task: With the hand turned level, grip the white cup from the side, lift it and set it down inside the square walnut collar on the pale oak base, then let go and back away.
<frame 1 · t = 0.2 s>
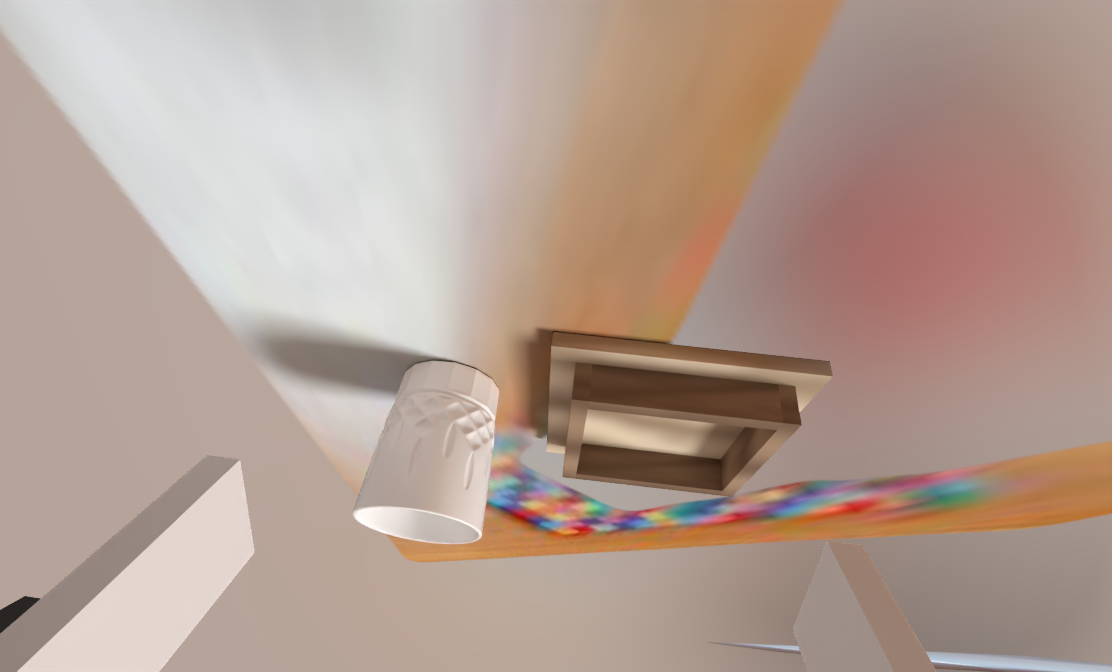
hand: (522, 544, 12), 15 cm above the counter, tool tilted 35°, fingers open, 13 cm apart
cup holder: (663, 408, 38), on the counter
white cup: (453, 381, 39), on the counter
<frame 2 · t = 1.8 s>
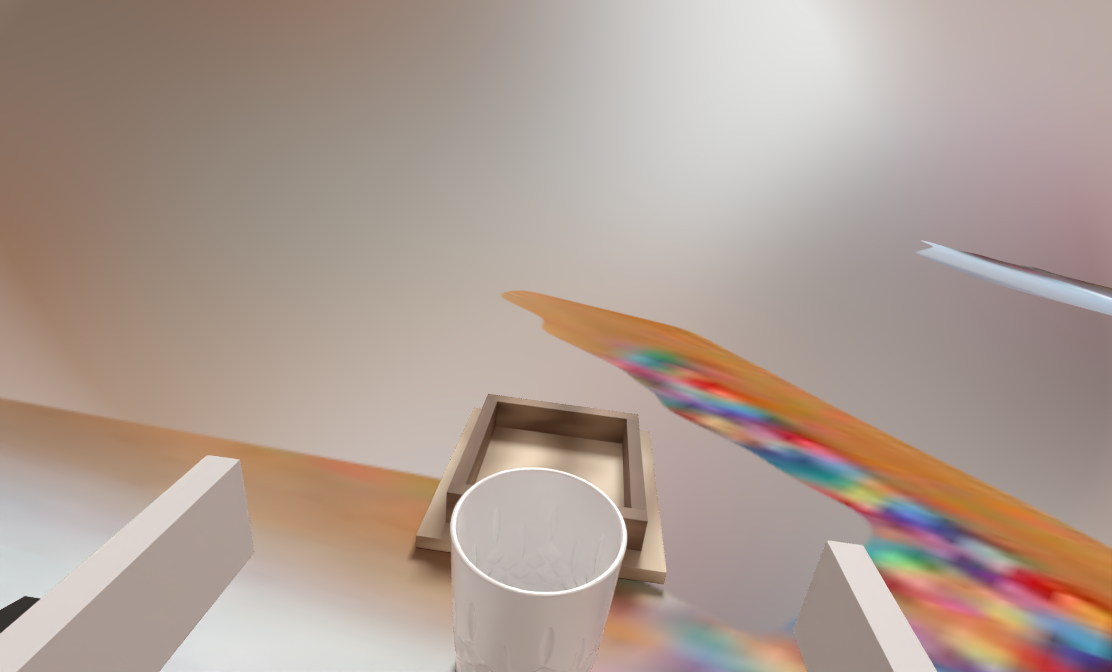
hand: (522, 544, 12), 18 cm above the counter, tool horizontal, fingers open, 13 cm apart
cup holder: (551, 485, 42), on the counter
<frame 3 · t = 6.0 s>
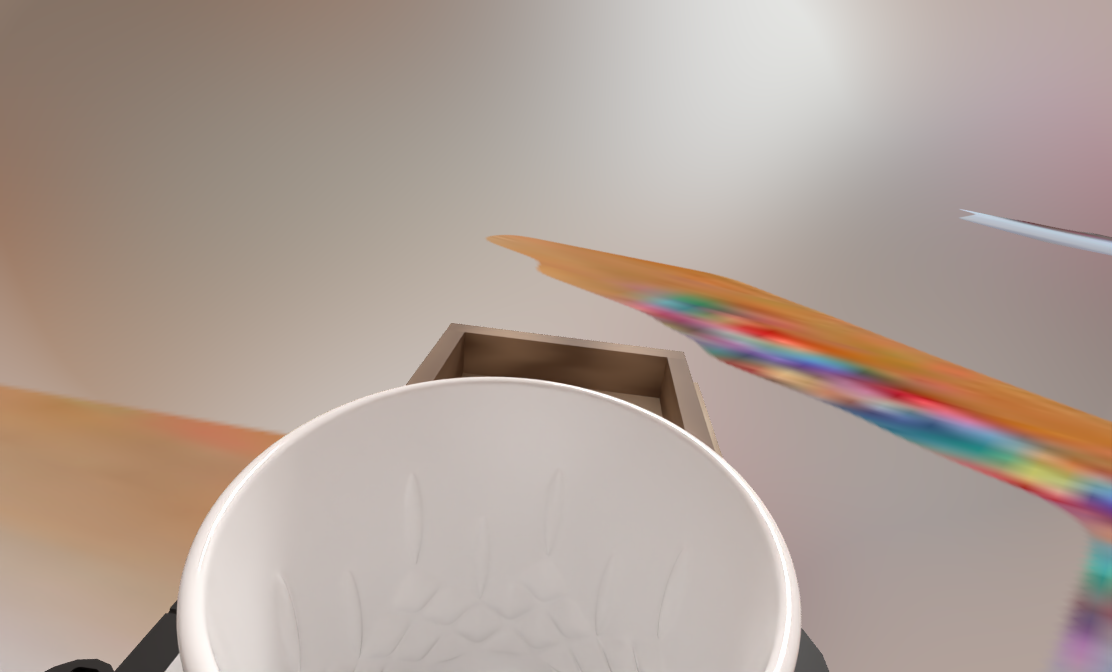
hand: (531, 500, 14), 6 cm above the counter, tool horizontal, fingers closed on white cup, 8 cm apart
cup holder: (549, 458, 25), on the counter
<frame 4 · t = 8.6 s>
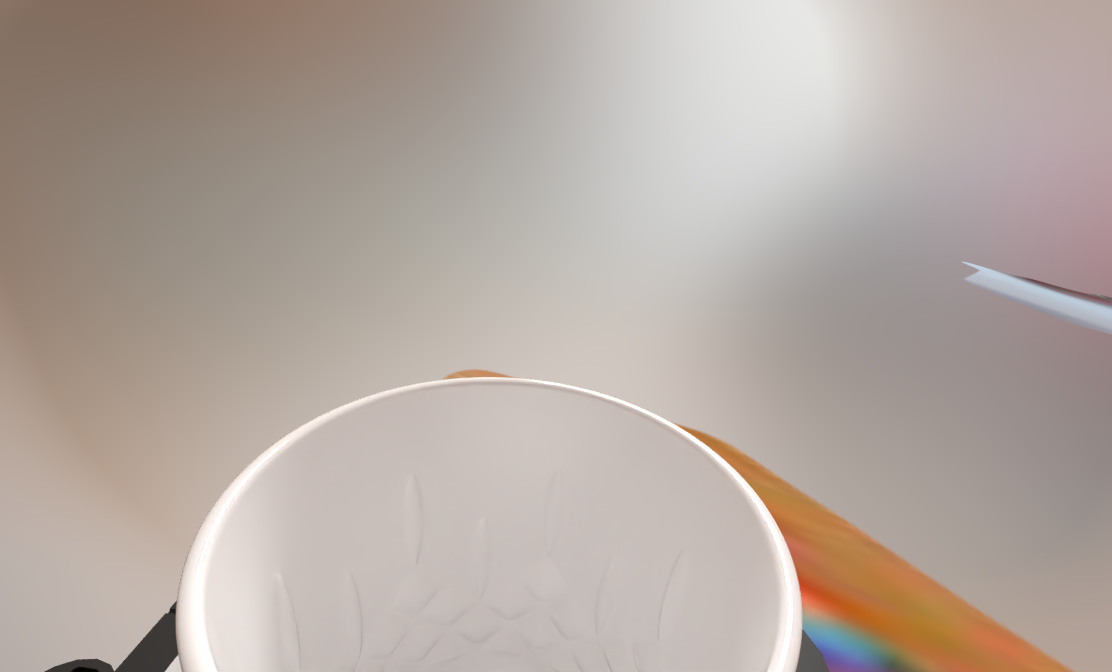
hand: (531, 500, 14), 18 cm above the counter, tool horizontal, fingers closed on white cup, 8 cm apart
when the fingers open (8 cm above the counter, at t = 11.3 s): white cup drops 1 cm, resting on cup holder.
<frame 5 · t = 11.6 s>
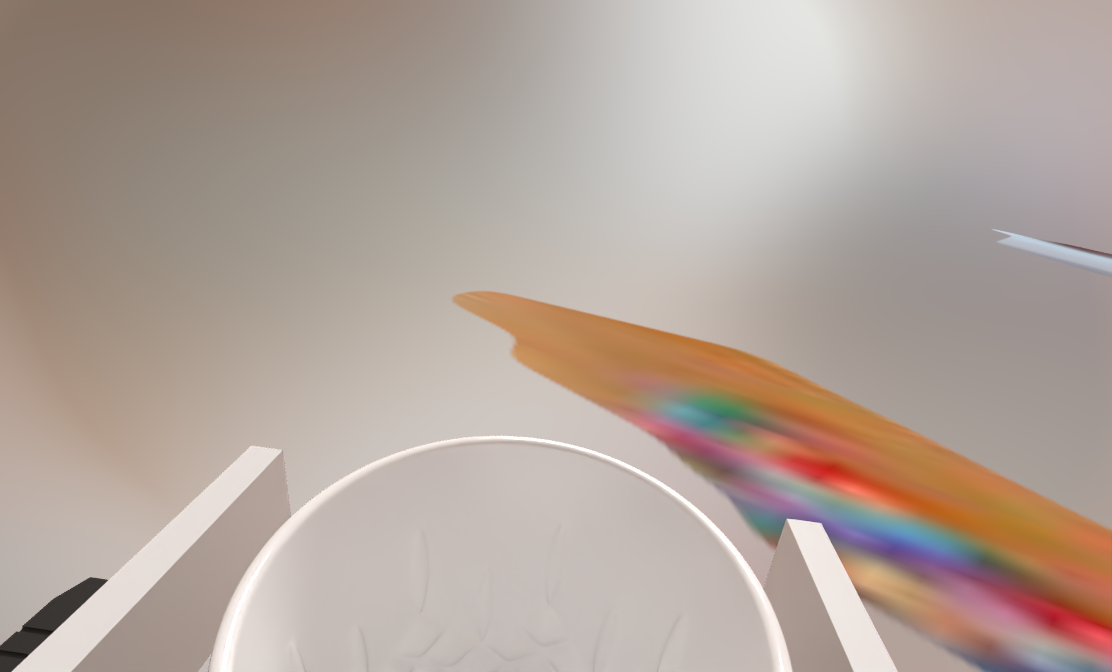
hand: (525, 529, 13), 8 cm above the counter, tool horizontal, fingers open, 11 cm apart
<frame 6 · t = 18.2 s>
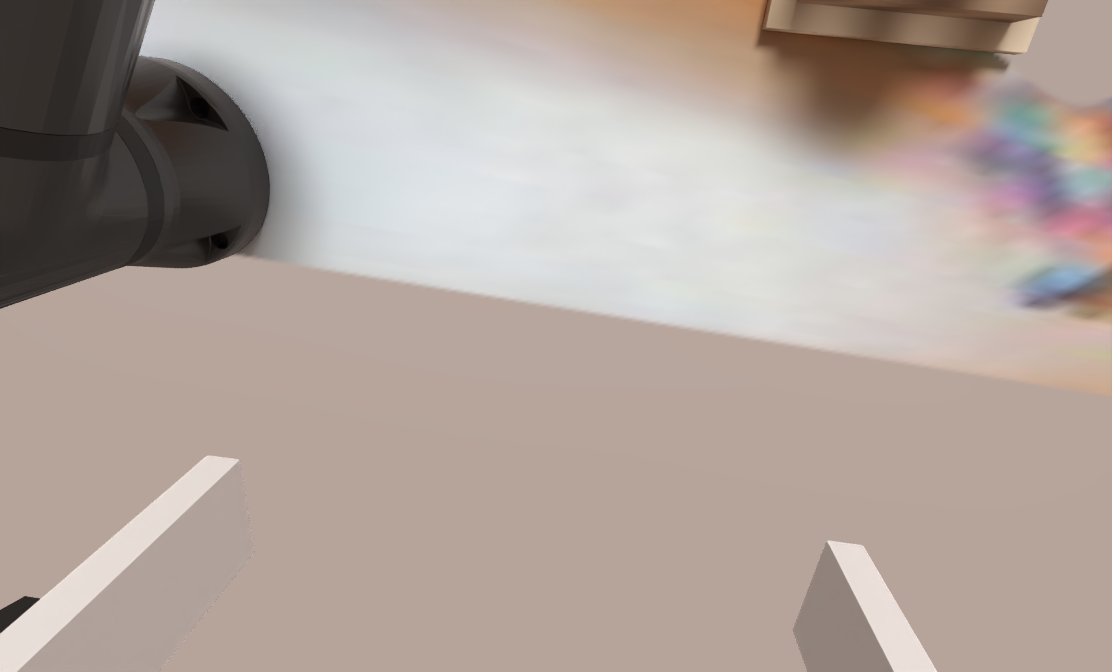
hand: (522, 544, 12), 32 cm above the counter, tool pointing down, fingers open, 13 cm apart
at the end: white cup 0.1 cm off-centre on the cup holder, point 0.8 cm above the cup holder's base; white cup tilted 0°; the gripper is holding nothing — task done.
